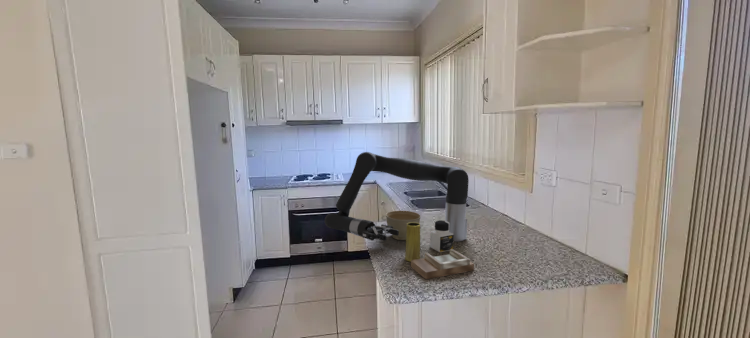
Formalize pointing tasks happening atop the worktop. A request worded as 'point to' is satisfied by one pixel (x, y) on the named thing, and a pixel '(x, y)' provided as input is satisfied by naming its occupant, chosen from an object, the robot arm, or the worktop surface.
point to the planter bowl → (401, 221)
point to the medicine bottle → (441, 237)
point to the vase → (412, 241)
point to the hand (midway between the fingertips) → (392, 235)
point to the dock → (442, 265)
